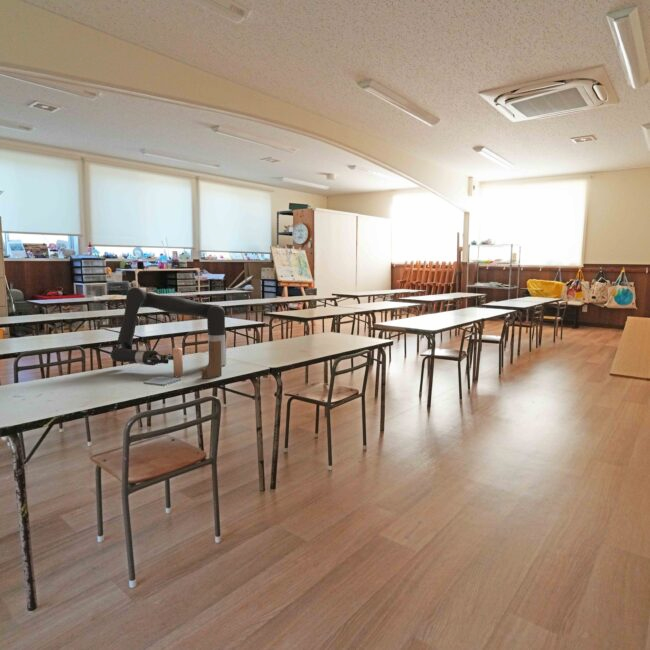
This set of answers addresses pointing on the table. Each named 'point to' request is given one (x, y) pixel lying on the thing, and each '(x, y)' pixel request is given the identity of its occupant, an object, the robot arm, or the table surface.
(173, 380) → the rubber mat
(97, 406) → the table surface
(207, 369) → the brown boot
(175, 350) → the tan tall cylinder
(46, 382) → the table surface
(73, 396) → the table surface
